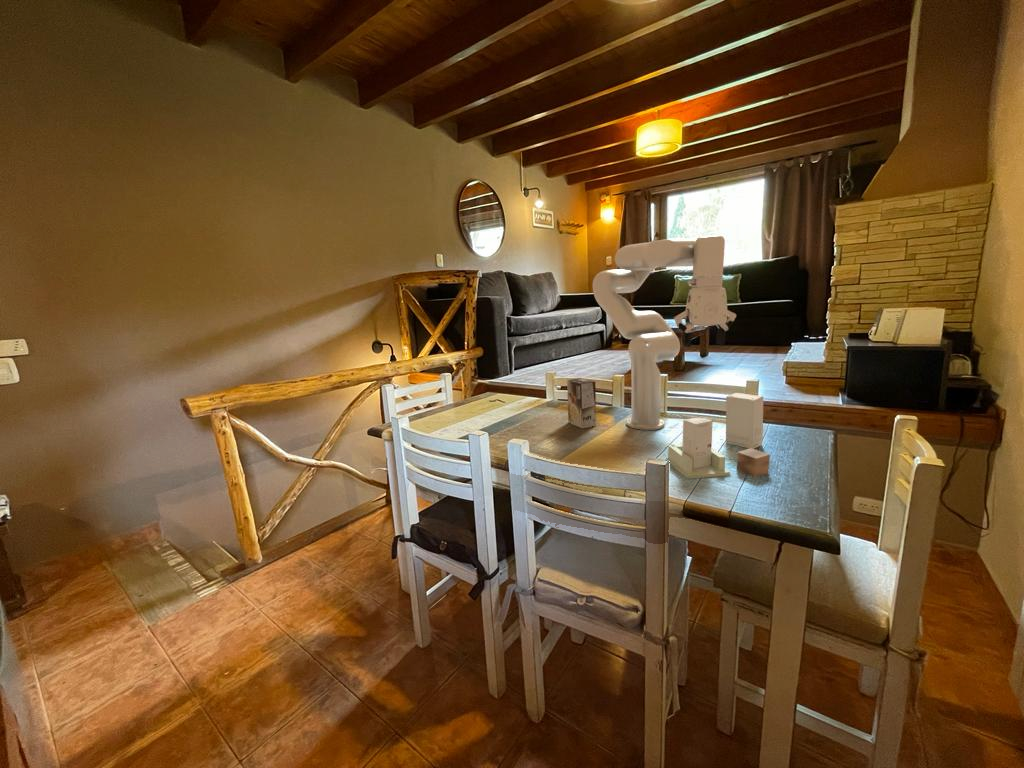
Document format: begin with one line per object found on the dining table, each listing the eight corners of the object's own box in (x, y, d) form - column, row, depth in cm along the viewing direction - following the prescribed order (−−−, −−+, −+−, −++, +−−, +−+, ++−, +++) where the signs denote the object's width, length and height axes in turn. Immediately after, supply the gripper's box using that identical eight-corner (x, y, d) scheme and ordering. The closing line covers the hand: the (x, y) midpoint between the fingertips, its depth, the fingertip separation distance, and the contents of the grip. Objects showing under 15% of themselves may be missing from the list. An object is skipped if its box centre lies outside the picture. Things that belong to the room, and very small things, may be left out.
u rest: (666, 460, 116) (666, 445, 115) (704, 457, 117) (705, 442, 116) (687, 478, 104) (687, 462, 103) (729, 475, 105) (730, 458, 104)
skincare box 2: (762, 445, 123) (766, 396, 120) (751, 450, 120) (755, 399, 116) (734, 438, 130) (737, 391, 127) (723, 442, 126) (725, 394, 123)
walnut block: (736, 470, 108) (737, 452, 107) (749, 466, 110) (750, 448, 109) (755, 477, 103) (756, 458, 102) (768, 473, 105) (769, 454, 104)
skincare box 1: (693, 469, 107) (695, 424, 105) (680, 463, 111) (682, 419, 109) (712, 465, 109) (714, 420, 107) (698, 459, 114) (700, 416, 111)
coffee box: (597, 425, 149) (596, 381, 145) (582, 429, 146) (581, 384, 142) (581, 419, 157) (580, 377, 153) (567, 422, 154) (566, 379, 150)
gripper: (682, 284, 111) (679, 349, 115) (745, 281, 112) (740, 345, 116) (670, 285, 119) (668, 345, 122) (729, 282, 120) (725, 342, 123)
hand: (703, 345), depth 119 cm, fingers open, 9 cm apart
